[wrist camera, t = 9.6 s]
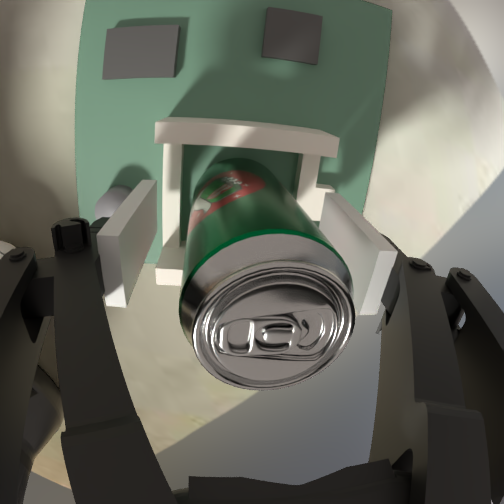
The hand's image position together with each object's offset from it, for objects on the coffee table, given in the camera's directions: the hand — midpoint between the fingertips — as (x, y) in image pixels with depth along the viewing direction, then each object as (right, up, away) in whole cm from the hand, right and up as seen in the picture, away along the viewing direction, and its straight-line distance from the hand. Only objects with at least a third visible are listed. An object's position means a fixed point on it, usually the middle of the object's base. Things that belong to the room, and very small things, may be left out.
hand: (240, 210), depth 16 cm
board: (-1, +6, +2) cm, 6 cm away
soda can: (0, +1, +3) cm, 3 cm away
